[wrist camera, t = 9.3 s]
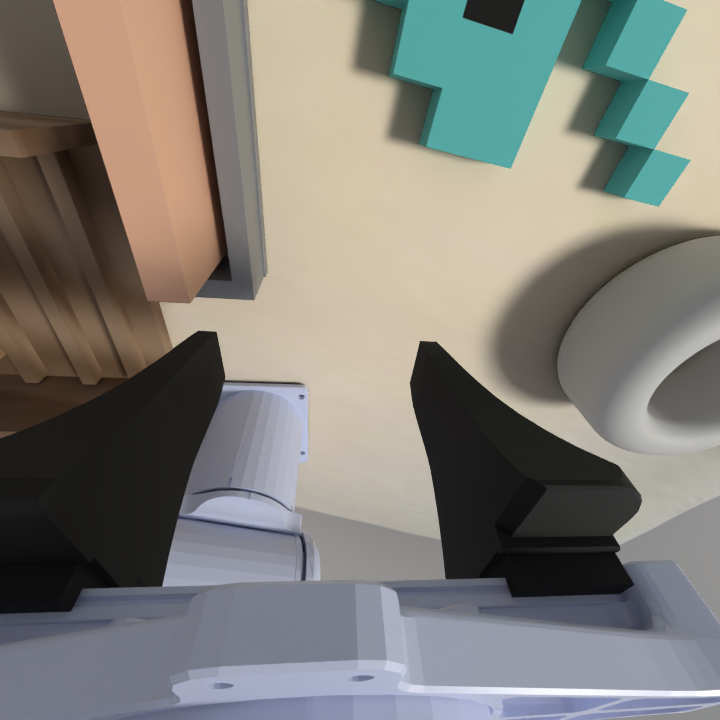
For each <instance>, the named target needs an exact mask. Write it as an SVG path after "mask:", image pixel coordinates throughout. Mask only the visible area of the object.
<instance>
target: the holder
mask: <svg viewBox="0 0 720 720" xmlns="http://www.w3.org/2000/svg"><path fill="white" fill-rule="evenodd" d="M192 4H193V11H194V18H195V25H196V32H197V39H198V46H199V53H200V60H201V67H202V74H203V81H204V88H205V95H206V102H207V109H208V116H209V123H210V130H211V137H212V144H213V151H214V158H215V165H216V172H217V178H218V185H219V192H220V199H221V206H222V213H223V220H224V227H225V234H226V241H227V248H228V251H227V253H226V254H225V255H224V257H223V258H222V260H221V261H220V262H219V264H218V265H217V267H216V268H215V269H214V271H213V272H212V274H211V275H210V276H209V278H208V279H207V281H206V282H205V283H204V285H203V286H202V288H201V289H200V290H199V292H198V293H197V295H196V296H195V297H205V298H224V299H242V300H255V297H256V295H257V292H258V290H259V287H260V285H261V282H262V280H263V277H266V274H267V259H266V246H265V232H264V219H263V206H262V192H261V179H260V166H259V153H258V139H257V126H256V113H255V100H254V86H253V73H252V60H251V46H250V33H249V20H248V7H247V0H192Z"/></svg>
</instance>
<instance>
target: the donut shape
mask: <svg viewBox="0 0 720 720" xmlns="http://www.w3.org/2000/svg"><path fill="white" fill-rule="evenodd" d="M557 372H558V378H559V381H560V384H561V386H562V389H563V390H564V392H565V393H566V395H567V396H568V397H569V399H570V400H571V401H572V403H573V404H574V405H575V406H576V408H577V409H578V410H579V411H580V413H581V414H582V415H583V416H584V418H585V419H586V420H587V421H588V423H589V424H590V425H591V427H592V428H593V429H594V430H595V431H596V432H597V433H598V434H599V435H600V436H601V437H602V438H603V439H605V440H606V441H608V442H609V443H611V444H613V445H615V446H617V447H619V448H622V449H624V450H627V451H631V452H635V453H640V454H648V455H673V454H683V453H689V452H695V451H699V450H704V449H708V448H712V447H715V446H718V445H720V236H710V237H704V238H699V239H694V240H690V241H686V242H683V243H680V244H677V245H674V246H671V247H668V248H666V249H663V250H661V251H659V252H657V253H654V254H652V255H650V256H648V257H646V258H644V259H643V260H641V261H639V262H637V263H635V264H634V265H632V266H631V267H629V268H627V269H626V270H624V271H623V272H621V273H620V274H619V275H617V276H616V277H615V278H613V279H612V280H611V281H609V282H608V283H607V284H606V285H605V286H603V287H602V288H601V289H600V290H599V291H598V292H597V293H596V294H595V295H594V296H593V297H592V298H591V299H590V300H589V301H588V302H587V303H586V304H585V305H584V307H583V308H582V309H581V310H580V311H579V313H578V314H577V315H576V317H575V318H574V320H573V321H572V323H571V325H570V326H569V328H568V330H567V332H566V334H565V336H564V338H563V340H562V343H561V346H560V350H559V354H558V360H557Z"/></svg>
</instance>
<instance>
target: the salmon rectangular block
mask: <svg viewBox="0 0 720 720" xmlns="http://www.w3.org/2000/svg"><path fill="white" fill-rule="evenodd" d="M53 2H54V5H55V9H56V12H57V15H58V18H59V21H60V24H61V28H62V31H63V34H64V37H65V40H66V43H67V47H68V50H69V53H70V56H71V59H72V63H73V66H74V69H75V72H76V75H77V78H78V82H79V85H80V88H81V91H82V94H83V97H84V101H85V104H86V107H87V110H88V113H89V116H90V120H91V123H92V126H93V129H94V132H95V135H96V139H97V142H98V145H99V148H100V151H101V154H102V158H103V161H104V164H105V167H106V170H107V173H108V177H109V180H110V183H111V186H112V189H113V192H114V196H115V199H116V202H117V205H118V208H119V211H120V215H121V218H122V221H123V224H124V227H125V230H126V234H127V237H128V240H129V243H130V246H131V250H132V253H133V256H134V259H135V262H136V265H137V269H138V272H139V275H140V278H141V281H142V284H143V288H144V291H145V294H146V297H147V300H148V301H155V302H174V303H191V302H192V300H193V299H194V297H195V296H196V295H197V293H198V292H199V290H200V289H201V288H202V286H203V285H204V283H205V282H206V281H207V279H208V278H209V276H210V275H211V274H212V272H213V271H214V269H215V268H216V267H217V265H218V264H219V262H220V261H221V260H222V258H223V257H224V255H225V254H226V253H227V251H228V248H227V241H226V234H225V227H224V220H223V213H222V206H221V199H220V192H219V185H218V178H217V172H216V165H215V158H214V151H213V144H212V137H211V130H210V123H209V116H208V109H207V102H206V95H205V88H204V81H203V74H202V67H201V60H200V53H199V46H198V39H197V32H196V25H195V18H194V11H193V4H192V0H53Z"/></svg>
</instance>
